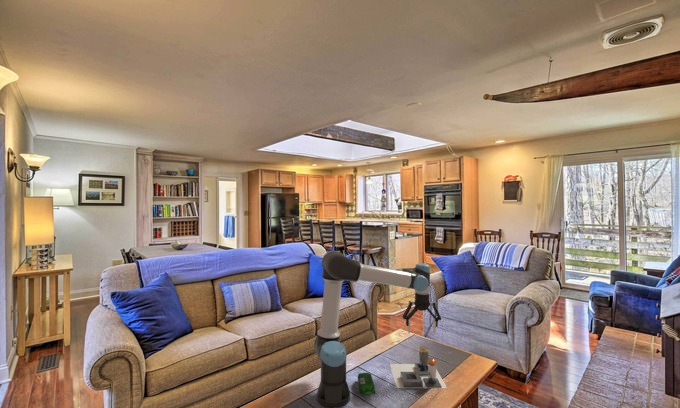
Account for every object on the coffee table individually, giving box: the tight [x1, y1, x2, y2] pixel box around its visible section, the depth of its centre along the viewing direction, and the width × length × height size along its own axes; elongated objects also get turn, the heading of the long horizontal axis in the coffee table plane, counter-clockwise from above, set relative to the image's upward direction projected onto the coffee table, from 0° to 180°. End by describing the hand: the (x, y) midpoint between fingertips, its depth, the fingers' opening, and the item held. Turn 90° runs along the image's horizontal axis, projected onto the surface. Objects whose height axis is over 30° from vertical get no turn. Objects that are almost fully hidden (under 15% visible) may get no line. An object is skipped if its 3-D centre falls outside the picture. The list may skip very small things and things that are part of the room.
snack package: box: [357, 372, 376, 396], centre depth 149 cm, size 7×16×5 cm, turn 3°
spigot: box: [418, 345, 430, 370], centre depth 164 cm, size 5×5×12 cm
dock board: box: [389, 363, 448, 389], centre depth 160 cm, size 24×22×1 cm
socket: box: [414, 362, 428, 375], centre depth 164 cm, size 8×8×2 cm
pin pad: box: [423, 378, 443, 389], centre depth 153 cm, size 7×7×1 cm
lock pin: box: [428, 357, 437, 385], centre depth 153 cm, size 4×4×11 cm
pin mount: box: [400, 372, 424, 389], centre depth 154 cm, size 9×9×3 cm
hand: (421, 332), depth 168 cm, fingers open, 13 cm apart
